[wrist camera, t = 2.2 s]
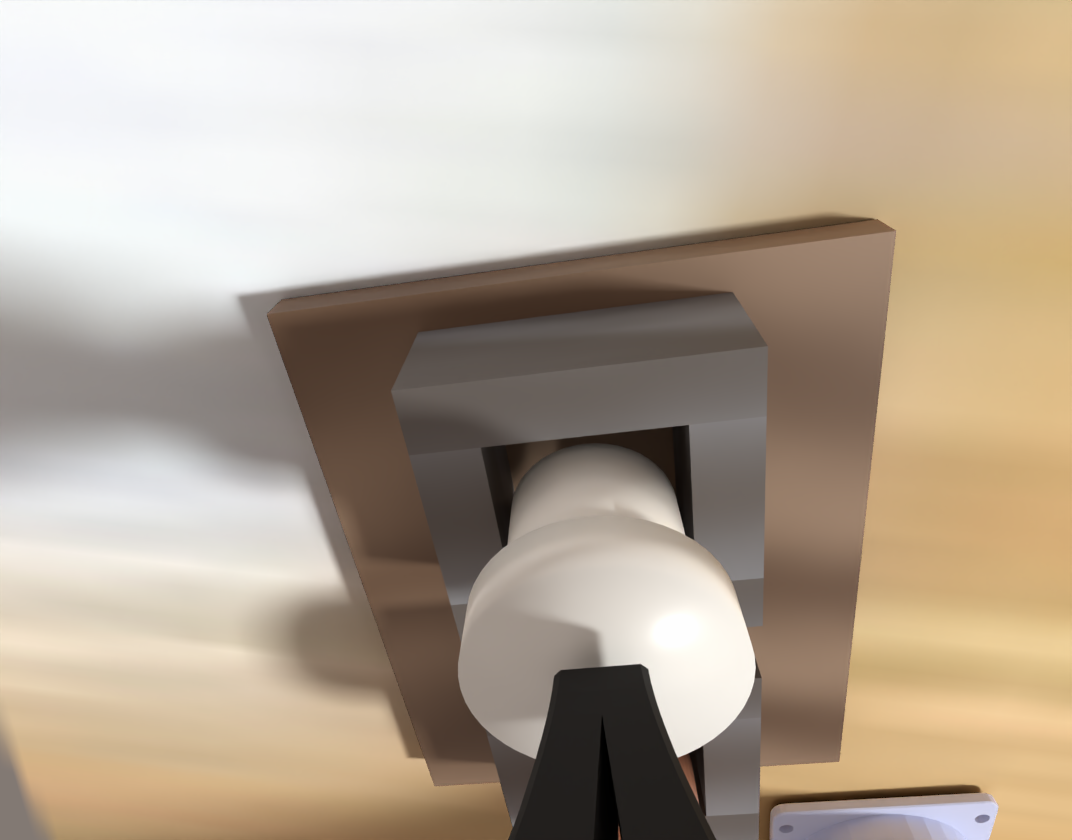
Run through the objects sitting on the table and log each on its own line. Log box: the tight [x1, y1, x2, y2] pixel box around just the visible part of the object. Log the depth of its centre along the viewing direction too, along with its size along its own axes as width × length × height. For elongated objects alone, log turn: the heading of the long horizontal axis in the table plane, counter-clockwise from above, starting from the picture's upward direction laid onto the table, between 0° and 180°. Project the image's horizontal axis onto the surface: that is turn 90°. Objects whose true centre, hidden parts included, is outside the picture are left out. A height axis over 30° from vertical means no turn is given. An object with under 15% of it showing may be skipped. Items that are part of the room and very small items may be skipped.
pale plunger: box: [458, 443, 756, 759], centre depth 13 cm, size 5×5×4 cm
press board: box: [267, 219, 896, 840], centre depth 19 cm, size 18×14×4 cm
